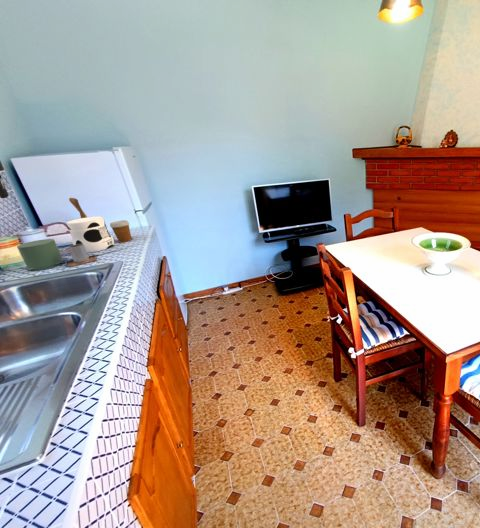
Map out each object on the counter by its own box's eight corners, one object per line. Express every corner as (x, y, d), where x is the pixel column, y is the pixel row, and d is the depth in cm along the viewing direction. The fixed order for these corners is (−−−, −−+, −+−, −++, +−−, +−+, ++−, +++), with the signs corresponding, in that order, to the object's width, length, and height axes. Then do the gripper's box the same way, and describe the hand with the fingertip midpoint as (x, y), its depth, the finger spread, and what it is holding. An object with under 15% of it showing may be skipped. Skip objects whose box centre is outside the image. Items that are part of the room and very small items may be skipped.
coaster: (68, 267, 145) (68, 266, 144) (67, 262, 152) (66, 261, 152) (97, 260, 152) (96, 259, 151) (94, 256, 159) (93, 255, 159)
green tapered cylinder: (27, 273, 140) (14, 249, 135) (27, 266, 149) (16, 244, 144) (66, 264, 149) (56, 241, 144) (64, 258, 158) (54, 237, 153)
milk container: (77, 251, 168) (63, 220, 162) (114, 244, 179) (103, 214, 172) (77, 259, 156) (63, 225, 149) (117, 250, 166) (105, 218, 160)
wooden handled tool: (89, 247, 175) (69, 199, 165) (86, 241, 188) (67, 196, 178) (103, 244, 180) (85, 197, 169) (99, 238, 193) (82, 195, 182)
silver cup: (74, 263, 148) (68, 248, 145) (73, 261, 152) (67, 246, 149) (90, 260, 152) (84, 245, 149) (88, 257, 156) (82, 243, 153)
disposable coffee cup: (114, 244, 178) (106, 225, 174) (118, 240, 186) (111, 221, 182) (132, 242, 181) (125, 222, 177) (136, 237, 190) (130, 219, 185)
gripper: (-24, 160, 133) (-6, 197, 139) (-29, 160, 123) (-9, 199, 129) (0, 159, 138) (17, 194, 144) (-2, 159, 128) (16, 197, 134)
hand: (5, 197), depth 137 cm, fingers open, 8 cm apart
